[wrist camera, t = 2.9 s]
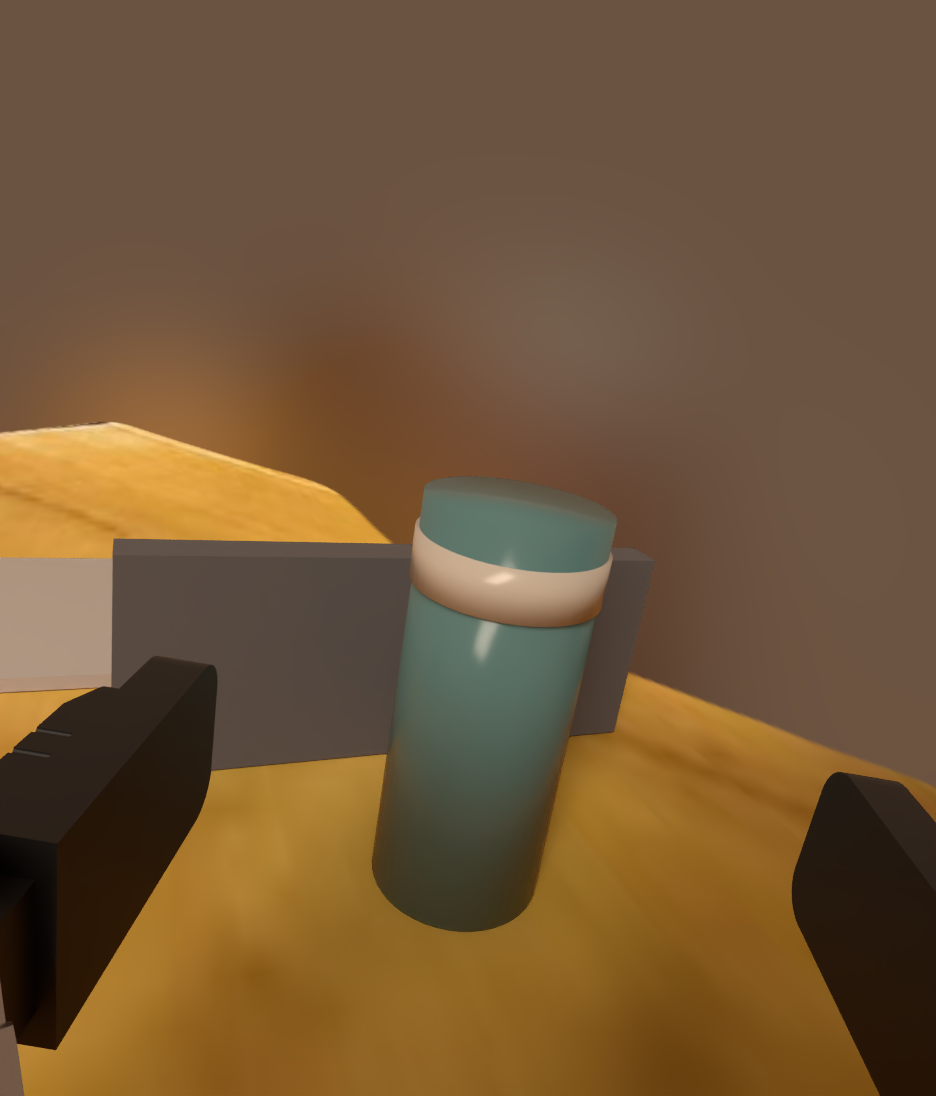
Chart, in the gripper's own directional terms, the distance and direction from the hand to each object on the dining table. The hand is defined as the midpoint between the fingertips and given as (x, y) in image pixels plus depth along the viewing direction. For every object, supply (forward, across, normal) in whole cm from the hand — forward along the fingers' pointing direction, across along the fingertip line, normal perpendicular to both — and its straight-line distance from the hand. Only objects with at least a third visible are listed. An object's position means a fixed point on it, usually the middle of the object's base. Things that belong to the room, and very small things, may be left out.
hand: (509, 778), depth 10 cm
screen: (+18, +3, +11) cm, 21 cm away
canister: (+12, 0, +11) cm, 16 cm away
